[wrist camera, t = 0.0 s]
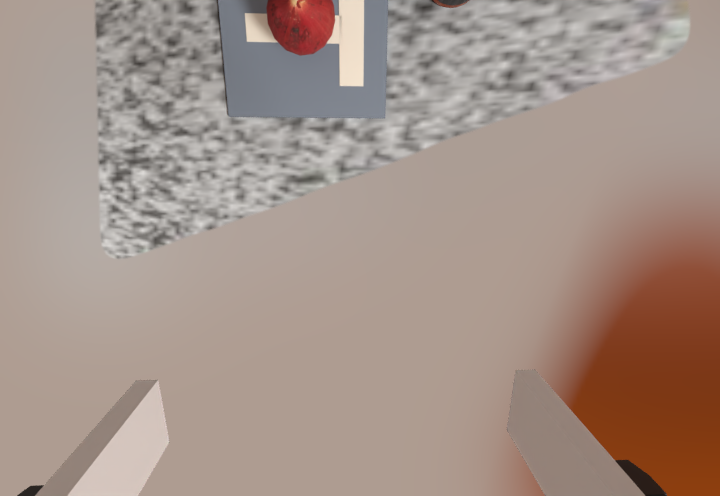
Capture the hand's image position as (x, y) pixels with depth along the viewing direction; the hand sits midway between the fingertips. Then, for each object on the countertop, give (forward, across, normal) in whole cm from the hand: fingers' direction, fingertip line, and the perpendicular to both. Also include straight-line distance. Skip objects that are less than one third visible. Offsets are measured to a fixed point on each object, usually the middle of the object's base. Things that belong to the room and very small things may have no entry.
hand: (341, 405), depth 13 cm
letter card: (+28, -3, +20) cm, 35 cm away
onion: (+28, -3, +20) cm, 35 cm away
